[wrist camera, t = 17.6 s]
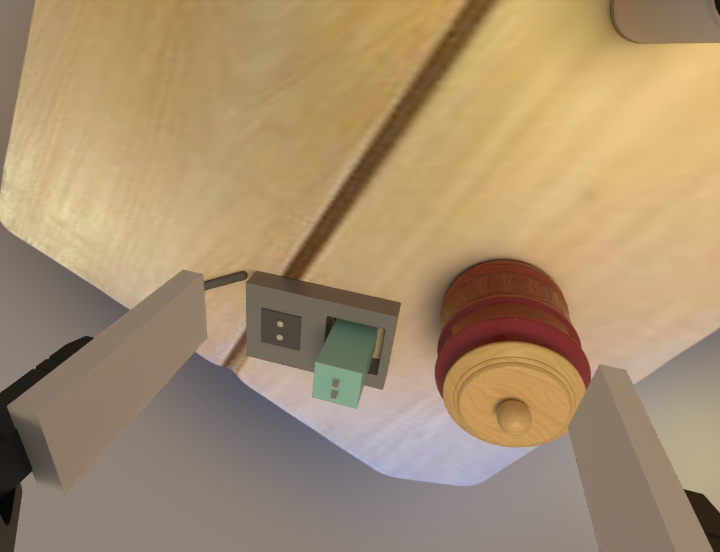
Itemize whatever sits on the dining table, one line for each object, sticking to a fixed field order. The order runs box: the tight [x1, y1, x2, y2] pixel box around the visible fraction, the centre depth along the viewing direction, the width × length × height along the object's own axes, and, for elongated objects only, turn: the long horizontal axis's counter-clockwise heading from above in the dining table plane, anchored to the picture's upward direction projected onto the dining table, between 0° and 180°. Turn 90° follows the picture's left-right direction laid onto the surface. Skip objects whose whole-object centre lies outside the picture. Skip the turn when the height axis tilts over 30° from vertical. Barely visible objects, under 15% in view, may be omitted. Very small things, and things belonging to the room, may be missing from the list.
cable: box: [204, 272, 247, 290], centre depth 55 cm, size 11×1×1 cm, turn 111°
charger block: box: [312, 318, 379, 409], centre depth 49 cm, size 5×5×11 cm
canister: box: [435, 260, 591, 447], centre depth 41 cm, size 13×13×18 cm
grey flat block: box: [246, 271, 401, 390], centre depth 53 cm, size 18×11×3 cm, turn 83°
